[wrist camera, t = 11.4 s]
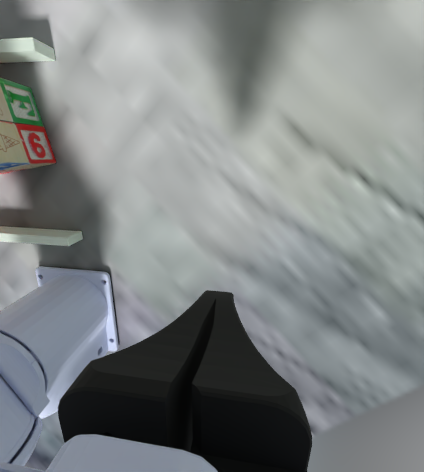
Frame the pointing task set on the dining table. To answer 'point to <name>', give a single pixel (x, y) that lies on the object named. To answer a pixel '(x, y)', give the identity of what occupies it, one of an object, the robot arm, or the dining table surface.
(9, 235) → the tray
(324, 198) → the dining table surface
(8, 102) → the stack of blocks
